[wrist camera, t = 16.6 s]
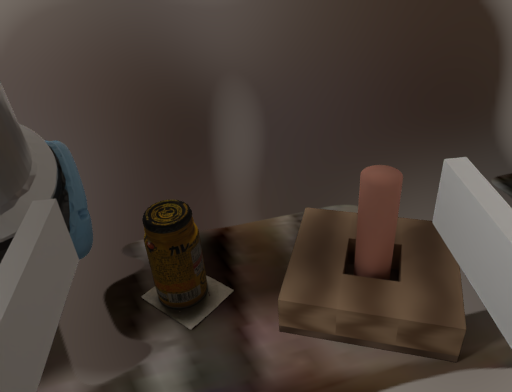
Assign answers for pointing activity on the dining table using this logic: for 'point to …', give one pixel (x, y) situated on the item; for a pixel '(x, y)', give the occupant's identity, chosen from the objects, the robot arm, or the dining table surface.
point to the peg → (377, 221)
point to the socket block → (374, 289)
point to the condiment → (179, 265)
